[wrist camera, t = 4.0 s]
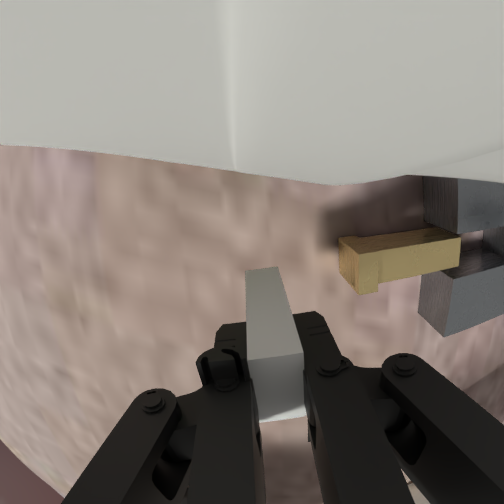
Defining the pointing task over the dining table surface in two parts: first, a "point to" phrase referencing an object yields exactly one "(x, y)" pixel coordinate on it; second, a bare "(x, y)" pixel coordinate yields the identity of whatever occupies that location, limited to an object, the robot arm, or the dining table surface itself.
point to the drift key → (396, 256)
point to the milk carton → (262, 84)
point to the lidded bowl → (417, 495)
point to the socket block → (465, 254)
